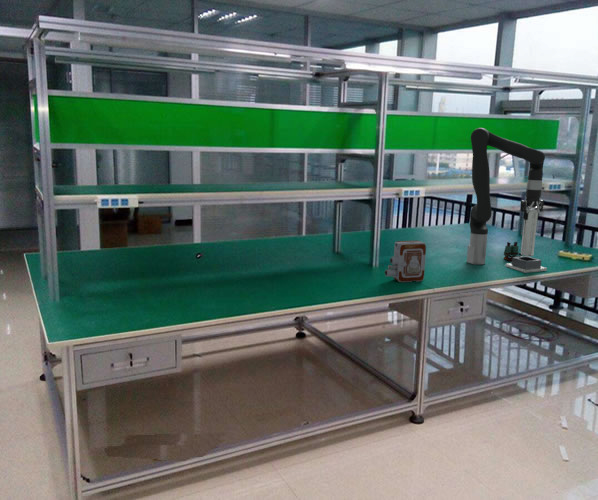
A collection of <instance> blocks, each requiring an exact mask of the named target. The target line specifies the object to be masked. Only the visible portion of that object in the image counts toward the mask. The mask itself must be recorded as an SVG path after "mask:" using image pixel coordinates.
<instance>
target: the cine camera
mask: <svg viewBox="0 0 598 500" xmlns="http://www.w3.org/2000/svg"><path fill="white" fill-rule="evenodd" d="M393 248H394V250H393V252H394V253H393V256H391V257H390V258H389V263H390V264H388V266H387V269H385V271H384V275H385V277H392V278H393V279H394V280H395V281H397V282H399V283H413V282H412V281H416V282H422V281H424V279H425V271H426V258H427V257H426V256H427V255H426V254H427V253H426V252H427V245H426V242H422V241H421V240H398V241H395V242H394V247H393ZM391 264H392V265H391Z"/></svg>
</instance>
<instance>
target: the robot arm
mask: <svg viewBox="0 0 598 500" xmlns="http://www.w3.org/2000/svg"><path fill="white" fill-rule="evenodd" d="M470 141H471V142H470V143H471V150H472V151H471V152H472V162H471V163H472V164H471V182H472V186H473V189H474V192H475V195H476V204H475V205H473V206H472V208H471V209H470V215H469V216H470V217H469V229H470V236H469V245H468V246H467V252H466V253H467V254H466V255H467V256H466V263H469V264H471V265H484V264H485V263H486V255H487V246H488V245H487V243H488V236H489V235H488V233H489V228H488V226H487V222H489V221H490V219H492V206H491V205H492V203H491V196H490V195H491V188H490V186H491V185H490V181H491V180H490V178H491V177H490V176H491V175H490V164H489V159H488V147H492V148H494V149H497V150H500V151H501V152H503V153H506V155H507V154H508V155H510V156H512V157H515V158H518V159H522V160H525V161H527V162H529V171H528V175H527V183H526V189H525V190H526V191H525V197H526V199H525V200H521V201H520V212H523V215H522V216H523V217H522V218H523V221H524V220H528V212H529V210H530V209H532V208H533V209H535V210H537V212H538V218H537V220H538V219H539V217H540V216H539V215H540V212H544V211H543V209H544V206H545V205H544V204H545V200H544V199H540V198H542V189H543V176H544V170H543V169H544V162H545V158H546V155H545V153H544V152H543V151H541V150H538V149H534V148H532V147H528V146H527V145H525V144H522V143H519V142H517V141H514V140H511V139H510V140H509V139H507V138H505V137H504V138H503V137H501V136H499V135H498V134H497V135H496V134H494V133H492V132H491V131H489V130H487V129H486V128H484V127H478V128H475V129H474V130H473V131H472V132H471V134H470Z"/></svg>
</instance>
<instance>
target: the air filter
mask: <svg viewBox="0 0 598 500" xmlns="http://www.w3.org/2000/svg"><path fill="white" fill-rule="evenodd" d="M537 218H538V219H539V217H538V212H537V210H535V209H534V208H533V209H532V208H531V209H530V210H529V212H528V220H524V219H523V226H522V227H523V228H522V238H521V245H520V254H521V255H522V256H529V257H534V252H535V242H536V233H537V227H538V226H537V224H538V219H537ZM521 255H520V256H521Z"/></svg>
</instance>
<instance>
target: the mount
mask: <svg viewBox="0 0 598 500" xmlns="http://www.w3.org/2000/svg"><path fill="white" fill-rule="evenodd" d="M504 266H505V267H506V268H510V269H511V270H514V271H519V272H521V273H523V274H524V273H525V274H527V273H538V272H546V271H548V268H547V267H545V266H542V260H541V259H539V258H534V257H533V256H524V255H522V257H512V261H511V262H510V263H509V262H508V263H505V265H504Z"/></svg>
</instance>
